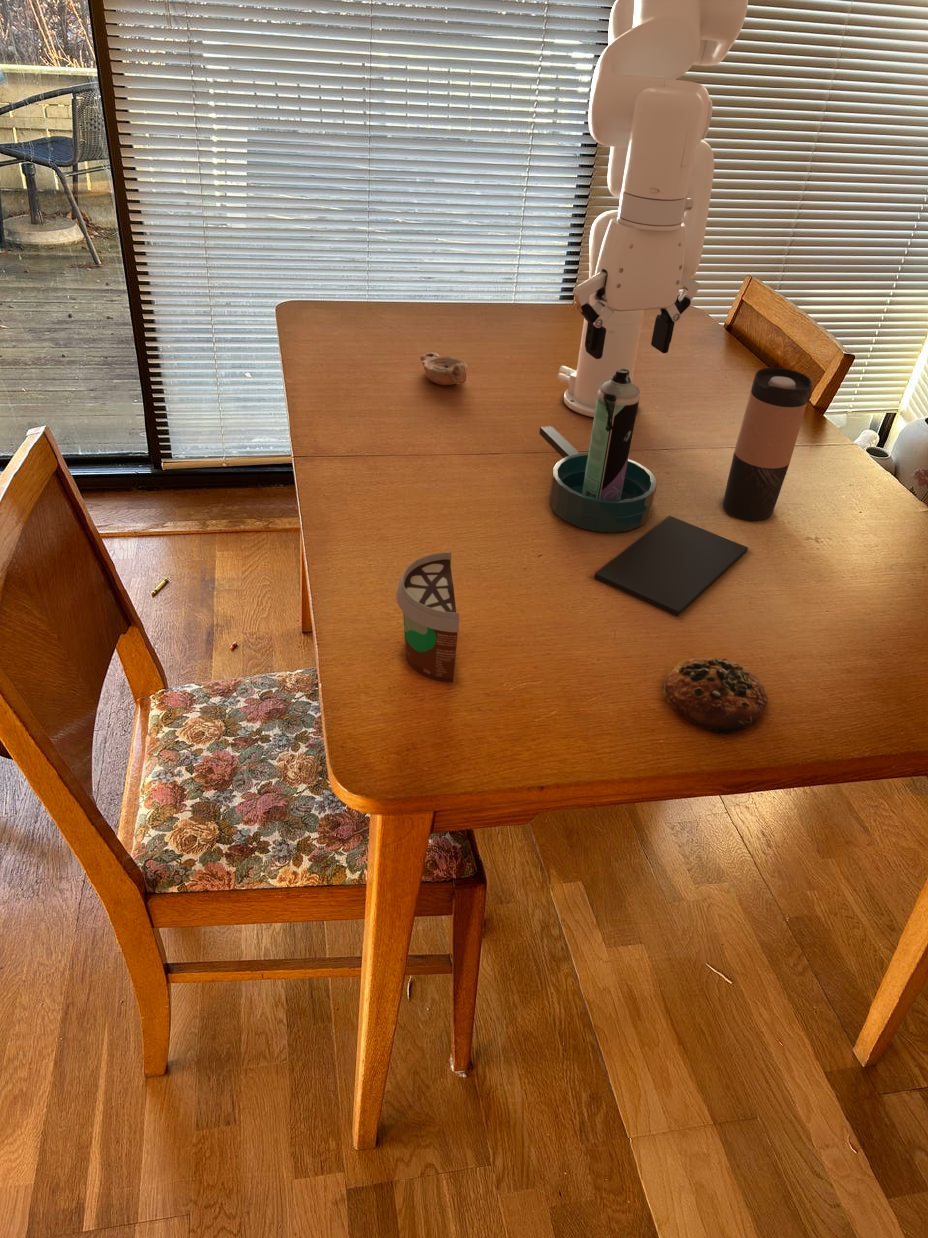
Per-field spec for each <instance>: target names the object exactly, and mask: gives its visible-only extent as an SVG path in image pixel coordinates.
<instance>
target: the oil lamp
mask: <svg viewBox="0 0 928 1238" xmlns="http://www.w3.org/2000/svg"><path fill="white" fill-rule="evenodd" d="M419 359H420V361H421V363H422V366H423V370H424V372H425V375H426V377H427V378H428V379H429V380H430V381H431V382H432V383H434V384H437V385H440V386H452V385H455V384H456V385H459V384H464V383H466V382H467V371H468V365H467V364H466V363H465V362H464V361H463V360H461V359H459V358H455V357H452V356H451V355H447V356H441V355H439V352H426V353H424V354H422V355H420V357H419Z"/></svg>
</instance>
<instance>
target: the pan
mask: <svg viewBox="0 0 928 1238" xmlns="http://www.w3.org/2000/svg"><path fill="white" fill-rule="evenodd" d="M588 453H589V452H583V453H580V454H575V455H572V456H568V457H565V458H561V459H560V460H559V461H557V462H556V464H555V465H554V467H553V468H552V474H551V481H550V489H549V497H548V499H549V500H548V501H549V507H550V508H551V509H552V511H553V512H554V513H555V515H557V516H558V517H559V518H561V519H562V520H563V521H565V522H566V523H569V524H571V525H573V526H575V527H578V528H581V529H584V530H588V531H593V532H600V533H619V532H626V531H631V530H633V529H636V528H639V527H641V526H643V524H645V523H647V522H648V521H649V519H650V516H651V515H652V510H653V505H654V501H655V496H656V491H657V487H658V483H657V480H656V479H657V478H656V476H655V475H654V474H653V472H652V471H651V470H650V469H649V468H647V467H646V466H644V465H642V464H640V463H639V462H637V461H635V460H633V459H630V458H628V462H627V468H626V473H625V478H624V484H623V489H622V494H621V500H605V499H598V498H594V497H589V496H586V495H583V494H582V491H583V484H584V478H585V472H586V465H587V459H588Z"/></svg>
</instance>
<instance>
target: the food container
mask: <svg viewBox="0 0 928 1238" xmlns="http://www.w3.org/2000/svg"><path fill="white" fill-rule="evenodd" d="M454 588H455V587H454V581H453V574H452V552H438V553H437V552H436V553H432V554H428V555H426V556H423V557H419V558H418V559H416V560H415V561H413V562H412V563H411V564H410V565H408V566H407V567H406V569H405V570H404V572H403V574H402V575H401V577H400V579H399V583H398V586H397V590H396V597H395V598H396V603H397V605H398V608H399V609H400V610H401V611H402V612H403V613H402V615H403V629H404V630H403V632H404V633H403V634H404V649H405V651H404V652H405V660H406V662H407V664H408V665H409V667H410V668H411V669H412V670H413V671H415V672H416V673H417V674H419V675H420V676H423V677H424V678H427V679H430V680H432V681H437V682H443V683H454V677H455V667H456V656H457V647H458V644H457V643H458V636H459V635H458V633H460V632H459V631H460V612H457V606H456V605H457V604H456V600H455V599H456V597H455V589H454Z"/></svg>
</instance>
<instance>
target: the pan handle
mask: <svg viewBox="0 0 928 1238" xmlns="http://www.w3.org/2000/svg"><path fill="white" fill-rule="evenodd" d="M538 433H539V436H540V437H542V439H544V440H545V442H547V443H548V444H549V446H551V448H553V449H554V450H555V452H557V453H558V454H559V455H560V456H561V457H562V459H564V458H565V457H568V456H572V455H575V454H581V453H580V451H578V450H577V449H576V448H575V447H574V446H573V445H572V444H571V443H570V441H568V440H567V439H566V438H565V437H564V436H562V434H560V432H559V431H558V430H556V428H554V427H553V426H552V425H546V426H540V427H539V432H538Z"/></svg>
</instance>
